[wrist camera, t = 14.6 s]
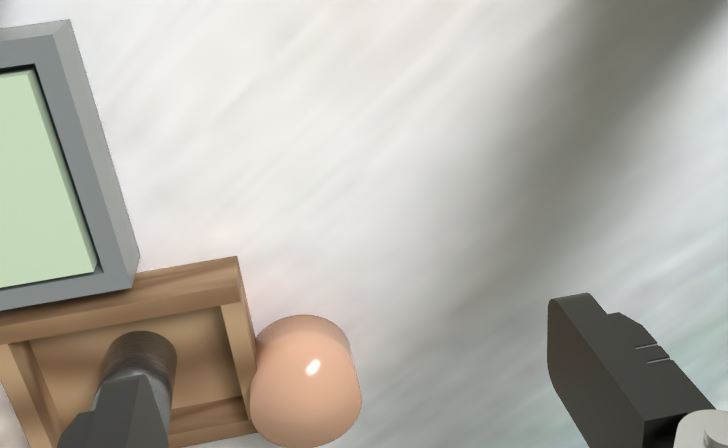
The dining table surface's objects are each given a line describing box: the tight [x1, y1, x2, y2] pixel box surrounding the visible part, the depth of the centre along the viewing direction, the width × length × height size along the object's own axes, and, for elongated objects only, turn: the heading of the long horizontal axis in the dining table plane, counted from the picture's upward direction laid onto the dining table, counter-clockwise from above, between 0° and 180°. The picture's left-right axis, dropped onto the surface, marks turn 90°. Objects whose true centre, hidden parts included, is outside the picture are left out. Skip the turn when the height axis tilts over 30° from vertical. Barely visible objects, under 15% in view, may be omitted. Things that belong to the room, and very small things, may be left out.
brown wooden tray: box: [0, 256, 258, 448], centre depth 44 cm, size 11×15×4 cm
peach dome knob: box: [250, 315, 362, 448], centre depth 46 cm, size 7×7×5 cm
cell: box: [90, 331, 177, 436], centre depth 41 cm, size 4×4×7 cm
